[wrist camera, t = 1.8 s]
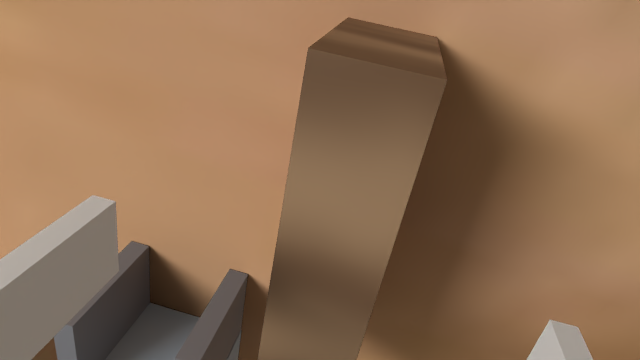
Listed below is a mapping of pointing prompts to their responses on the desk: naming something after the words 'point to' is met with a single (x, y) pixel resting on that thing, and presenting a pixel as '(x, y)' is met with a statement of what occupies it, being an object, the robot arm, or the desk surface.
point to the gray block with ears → (152, 320)
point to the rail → (348, 184)
